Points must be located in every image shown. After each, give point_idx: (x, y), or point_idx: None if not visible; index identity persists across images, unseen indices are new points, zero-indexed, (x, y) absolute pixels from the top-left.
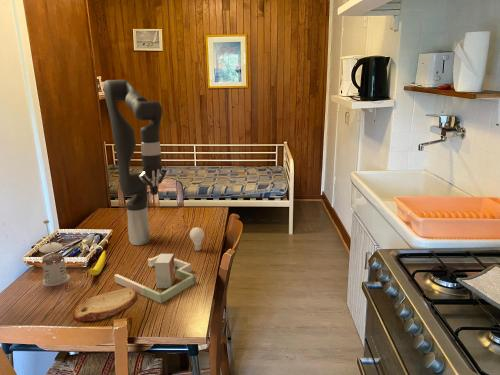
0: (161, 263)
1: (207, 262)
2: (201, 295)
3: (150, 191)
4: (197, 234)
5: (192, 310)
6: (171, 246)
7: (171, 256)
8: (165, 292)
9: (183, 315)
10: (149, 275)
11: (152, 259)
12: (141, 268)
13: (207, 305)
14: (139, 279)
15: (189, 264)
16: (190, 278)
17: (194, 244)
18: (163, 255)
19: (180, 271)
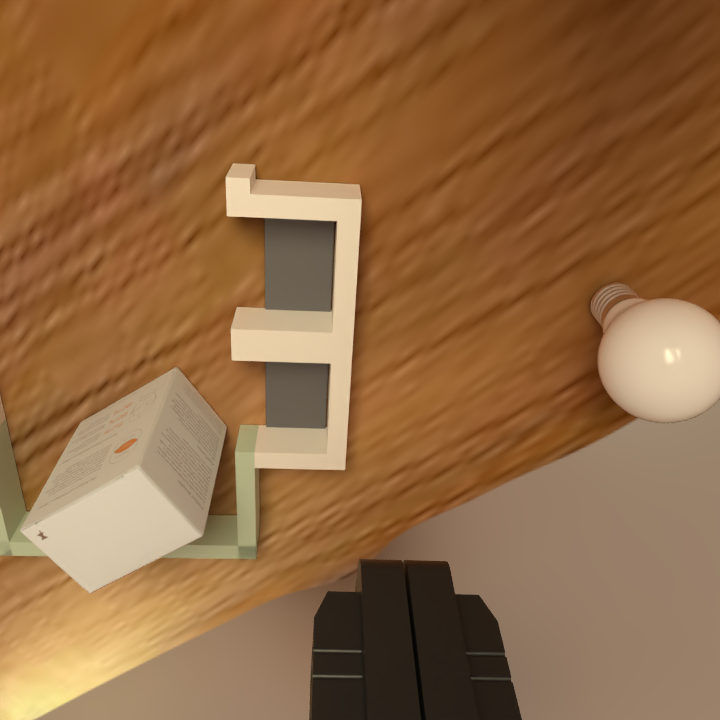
0: (54, 560)
1: (477, 449)
2: (187, 605)
3: (315, 647)
4: (625, 408)
5: (80, 638)
6: (601, 57)
7: (161, 552)
8: (31, 554)
9: (31, 634)
10: (147, 277)
11: (246, 213)
12: (174, 149)
13: (147, 657)
14: (69, 261)
15: (336, 465)
16: (216, 557)
17: (606, 315)
18: (134, 506)
19: (237, 478)
